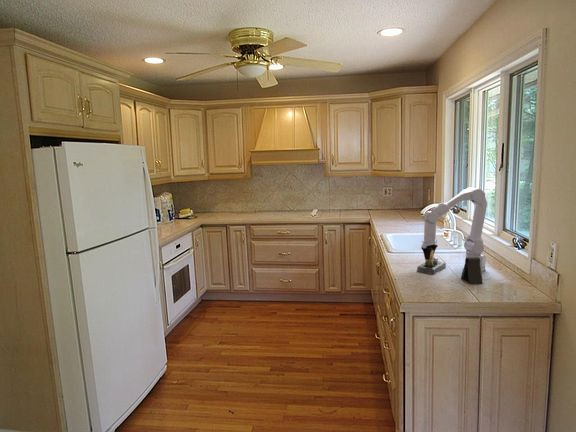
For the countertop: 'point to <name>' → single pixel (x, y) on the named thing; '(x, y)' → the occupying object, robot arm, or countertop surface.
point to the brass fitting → (430, 261)
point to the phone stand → (472, 271)
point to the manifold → (432, 267)
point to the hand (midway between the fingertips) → (428, 258)
